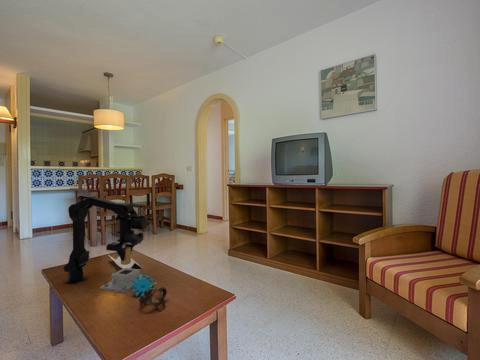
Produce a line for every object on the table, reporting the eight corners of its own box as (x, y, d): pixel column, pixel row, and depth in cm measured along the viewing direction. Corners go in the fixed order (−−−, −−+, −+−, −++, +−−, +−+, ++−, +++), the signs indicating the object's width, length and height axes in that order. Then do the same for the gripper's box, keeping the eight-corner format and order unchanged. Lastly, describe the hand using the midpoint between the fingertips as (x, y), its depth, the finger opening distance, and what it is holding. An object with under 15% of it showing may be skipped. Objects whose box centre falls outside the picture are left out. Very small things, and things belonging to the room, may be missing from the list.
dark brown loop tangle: (156, 317, 93) (145, 299, 92) (142, 321, 97) (131, 304, 97) (176, 295, 103) (166, 279, 103) (162, 300, 108) (152, 284, 107)
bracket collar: (100, 289, 115) (99, 277, 115) (127, 274, 132) (127, 264, 132) (124, 292, 111) (124, 281, 111) (149, 277, 128) (149, 266, 128)
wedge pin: (120, 264, 120) (120, 248, 120) (125, 262, 123) (125, 246, 123) (126, 265, 119) (126, 249, 119) (130, 262, 122) (130, 247, 122)
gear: (130, 296, 104) (132, 274, 111) (128, 301, 108) (130, 279, 115) (156, 294, 109) (156, 273, 116) (154, 299, 113) (154, 278, 119)
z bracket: (122, 265, 158) (130, 257, 160) (135, 277, 139) (142, 268, 141) (108, 255, 152) (115, 246, 155) (118, 266, 133) (127, 256, 136)
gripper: (125, 234, 110) (125, 268, 110) (150, 225, 128) (151, 255, 128) (105, 232, 113) (105, 265, 113) (133, 224, 131) (133, 253, 131)
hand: (125, 259), depth 121 cm, fingers closed on wedge pin, 3 cm apart
